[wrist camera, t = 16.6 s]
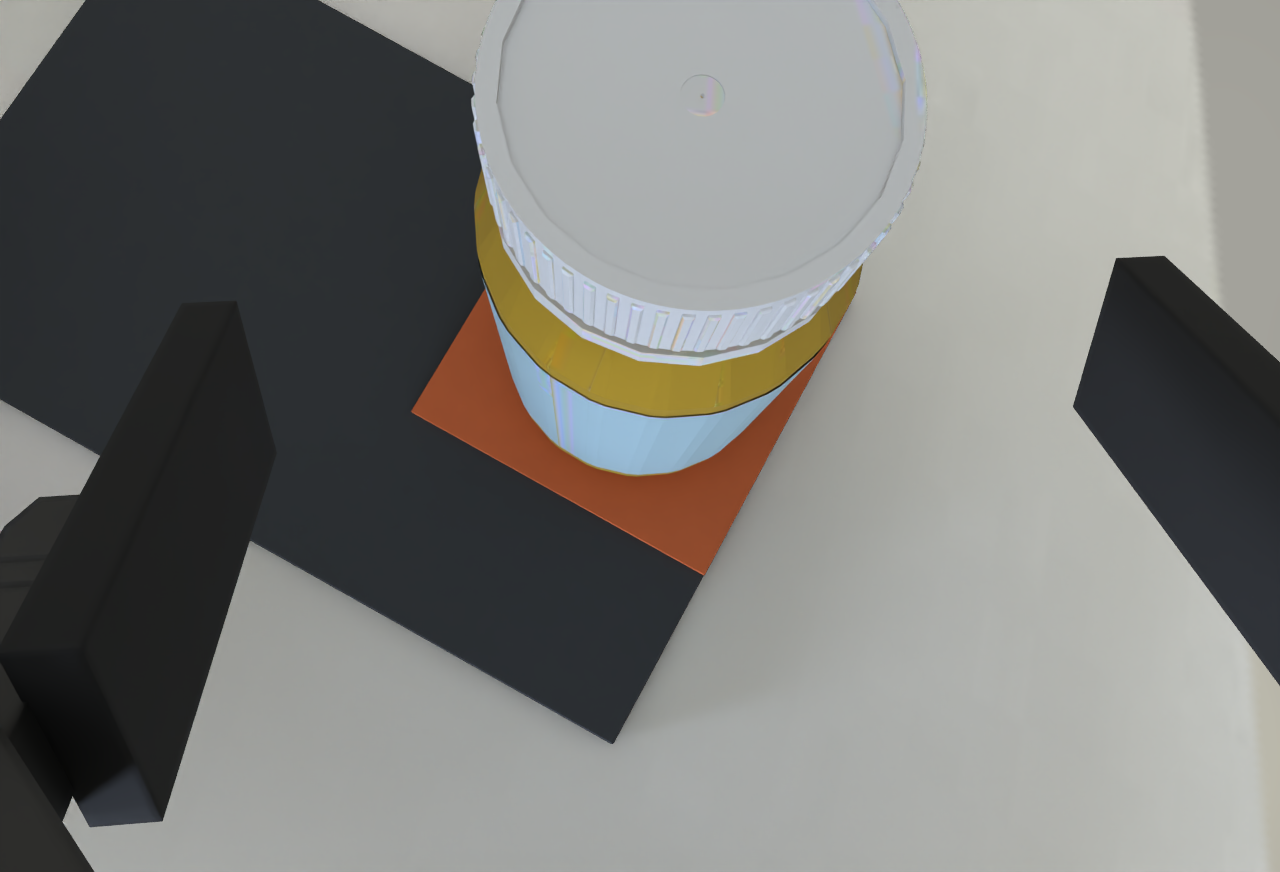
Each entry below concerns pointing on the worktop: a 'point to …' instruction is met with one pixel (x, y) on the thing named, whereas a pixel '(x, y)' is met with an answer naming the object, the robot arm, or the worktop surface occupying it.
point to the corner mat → (339, 332)
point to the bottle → (682, 204)
